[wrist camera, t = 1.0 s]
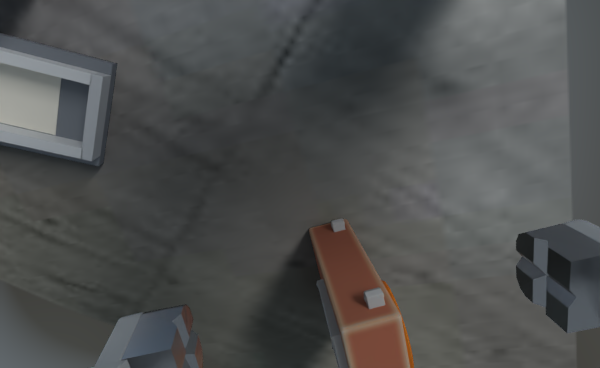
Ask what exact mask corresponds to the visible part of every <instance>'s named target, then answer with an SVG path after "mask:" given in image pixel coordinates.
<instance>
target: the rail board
mask: <svg viewBox="0 0 600 368" xmlns="http://www.w3.org/2000/svg"><path fill="white" fill-rule="evenodd" d="M116 69H117V63H113V62H110V61H106V60H102V59H98V58H94V57H91V56H87V55H83V54H79V53H75V52H72V51H68V50H64V49H60V48H56V47H53V46H49V45H45V44H41V43H37V42H34V41H30V40H26V39H22V38H18V37H15V36H11V35H7V34H3V33H0V145H2V146H7V147H12V148H16V149H21V150H25V151H30V152H35V153H39V154H44V155H48V156H53V157H58V158H62V159H67V160H71V161H76V162H81V163H85V164H90V165H94V166H100V165H102V164H103V162H104V155H105V148H106V141H107V133H108V126H109V119H110V112H111V105H112V98H113V90H114V83H115V76H116Z"/></svg>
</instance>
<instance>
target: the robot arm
mask: <svg viewBox="0 0 600 368" xmlns="http://www.w3.org/2000/svg"><path fill="white" fill-rule="evenodd" d="M516 250H517V251H518V252H519V254H520V255H521V256H522V257H521V259H520V260H519V262H518V263H517V265H516V278H517V280H518V283H519V286H520V289H521V290H522V292H523V293H524V295H525V296H526V297H527V298H528V299H529V300H530V301H531V302H532V303H535V304H538V305H541V306H543V307H546V315H547V316H548V317H549V318H550V319H552V320H553V321H554V322H555V323H556V324H557V325H558V326H559V327H561V328H562V329H563V330H564V331H565V332H566V333H571V332H576V331H581V330H586V329H591V328H597V327H600V227H598V226H596V225H594V224H592V223H590V222H588V221H586V220H574V221H570V222H566V223H562V224H558V225H554V226H550V227H546V228H542V229H538V230H534V231H529V232H525V233H521V234H519V235H518V238H517V240H516ZM192 323H193V317H192V314H191V311H190V308H189V307H188V306H187V305H186V304H184V305H179V306H174V307H169V308H163V309H158V310H153V311H148V312H144V313H142V312H141V313H137V314H133V315H128V316H124V317H122V318H120V319H119V320H118V322H117V324H116V325H115V327H114V329H113V331H112V333H111V335H110V337H109V339H108V341H107V343H106V345H105V347H104V349H103V351H102V352H101V354H100V356H99V358H98V360H97V362H96V364H95V366H94V367H90V368H203V353H202V347H201V342H200V339H199V336H198V334H197V333H195V332H194V331H192V330H191V328H192Z"/></svg>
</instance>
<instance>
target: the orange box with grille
mask: <svg viewBox="0 0 600 368" xmlns="http://www.w3.org/2000/svg"><path fill="white" fill-rule="evenodd" d="M309 233H310V237H311V241H312V246H313V250H314V254H315V258H316V262H317V266H318V270H319V274H320V278H321V280H317V283H316V285H317V287H318V289H319V293H320V297H321V301H322V305H323V309H324V313H325V317H326V321H327V325H328V329H329V333H330V337H331V341H332V349H333V350H334V353H335V356H336V360H337V364H338V367H339V368H414V363H413V355H412V351H411V346H410V342H409V338H408V335H407V331H406V327H405V325H404V322H403V319H402V316H401V313H400V310H399V308H398V305H397V303H396V300H395V298H394V296H393V294H392V292H391V290H390V288H389V287H388V285H387V284H386V282H384V281H382V280H381V279H380V277H379V275H378V274H377V272H376V270H375V268H374V267H373V265H372V263H371V261H370V259H369V258H368V256H367V254H366V252H365V250H364V249H363V247H362V245H361V244H360V242H359V240H358V238H357V236H356V235H355V233H354V231H353V230H352V228H351V226H350V224H349V223H348V221H347V219H343V218H340V219H337V220H333V221H331V223H328V224H324V225H320V226H316V227H312V228H309Z"/></svg>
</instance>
